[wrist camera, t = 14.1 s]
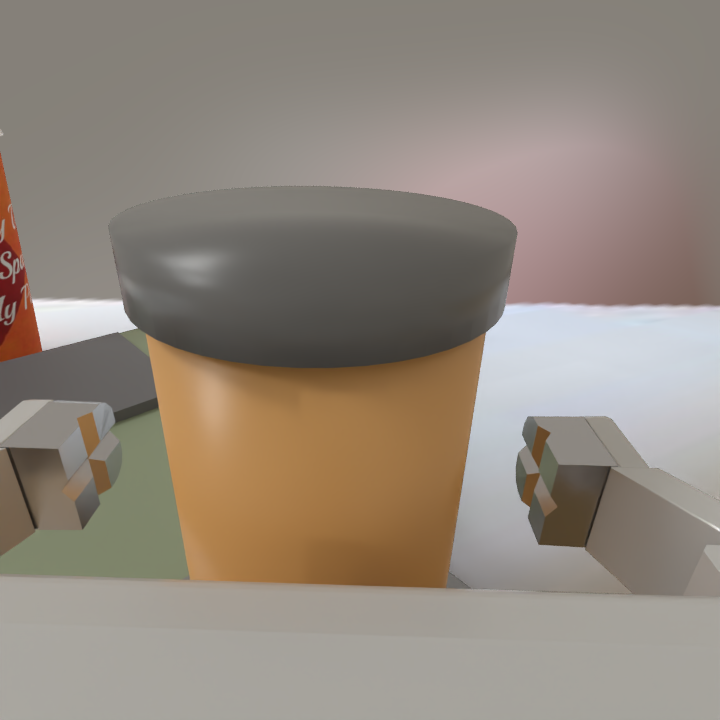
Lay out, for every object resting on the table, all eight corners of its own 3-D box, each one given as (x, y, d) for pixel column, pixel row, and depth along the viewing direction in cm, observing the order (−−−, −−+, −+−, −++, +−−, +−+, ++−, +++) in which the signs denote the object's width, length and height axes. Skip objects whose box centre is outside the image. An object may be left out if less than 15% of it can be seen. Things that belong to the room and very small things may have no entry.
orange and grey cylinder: (172, 791, 13) (12, 221, 6) (302, 622, 17) (286, 177, 10) (358, 960, 10) (407, 317, 4) (455, 715, 14) (557, 210, 8)
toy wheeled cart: (-130, 471, 23) (-170, 396, 21) (193, 366, 33) (184, 308, 31) (-76, 853, 11) (-152, 759, 10) (396, 514, 21) (402, 436, 20)
